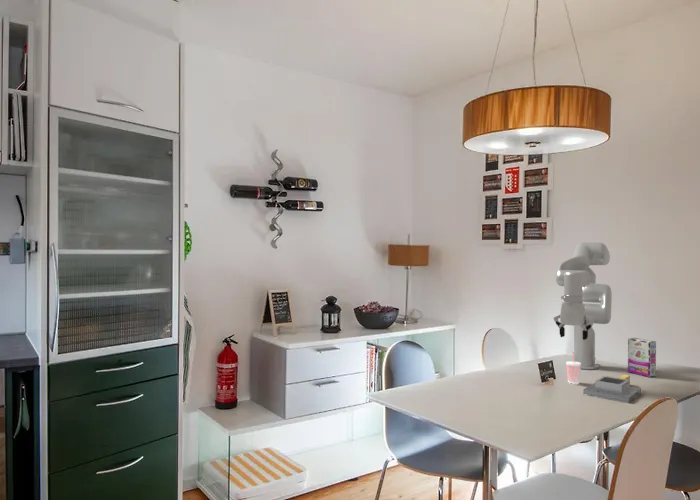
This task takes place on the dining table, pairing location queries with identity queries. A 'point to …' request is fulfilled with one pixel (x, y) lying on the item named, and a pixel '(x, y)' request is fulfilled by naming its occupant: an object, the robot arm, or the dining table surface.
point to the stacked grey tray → (613, 389)
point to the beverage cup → (573, 371)
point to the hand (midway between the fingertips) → (573, 337)
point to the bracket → (623, 377)
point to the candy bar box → (642, 357)
